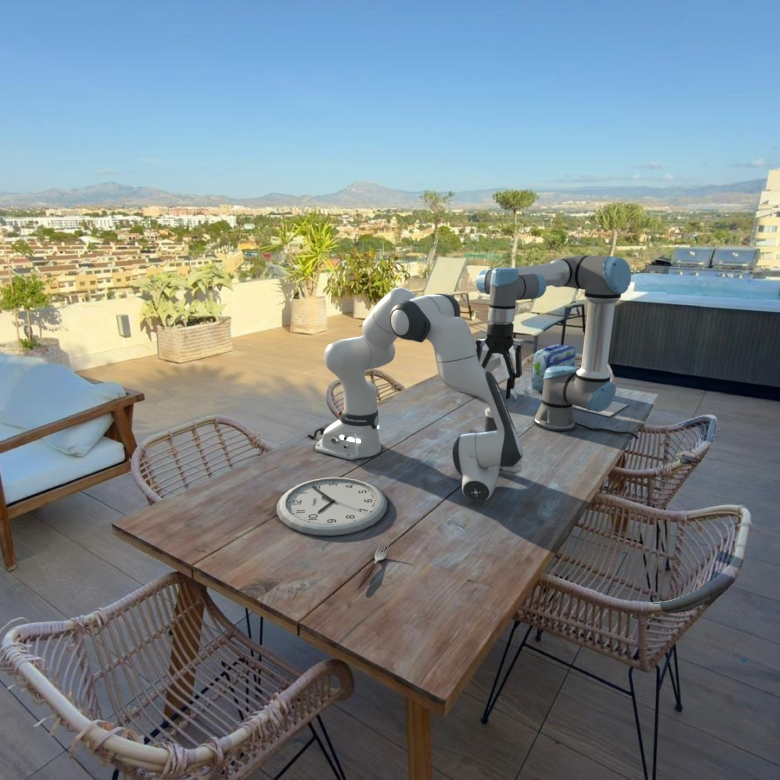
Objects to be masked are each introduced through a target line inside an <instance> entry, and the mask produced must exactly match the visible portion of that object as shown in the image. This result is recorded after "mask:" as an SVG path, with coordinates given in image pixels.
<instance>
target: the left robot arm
mask: <svg viewBox="0 0 780 780" xmlns="http://www.w3.org/2000/svg"><path fill="white" fill-rule="evenodd" d="M461 314H462V313H461V306H460V303H459V302H458V300H457V298H455V297H454V296H453V295H450V294H447V293H435V294H428V295H427V294H426V295H422V296H418V297H416V296H415V294H414V293H413V292H412V291H410V290H409V289H407V288H405V287H395V288H393V289H392V290H390V291H389V292H387V294H385V295H384V296H383V297H382V298H381V299H380V300H379V301H378V302H377V304H376V305H375V306H374V307H373V309H372V310H371V311H370V313H369V314H368V315H367V316H366V317H365V319H364V320H363V323H362V325H361V326H362V327H361V329H362V330H361V331H362V335H360V336H356V337H350V338H349V337H348V338H342V339H338V340H337V341H333V342H332V343H329V344H328V345H327V346H326V347H325V349H324V353H323V361H324V364H325V366H326V368H327V369H328V370H329V371H330V373H331V374H334V376H336V378H338V380H339V382H340V385H341V387H342V394H343V406H342V407H341V408H340V410H339V411H338V412H337V415H336V417H337V418H338V419H337V420H335V421H334V422H332V423H331V424H328V423H327V424H325V425H323V426H321V427H319V428H317V429H315V430H314V433H313V435H311V434H308V435H307V437H308V438H310V439H315V438H316V437H317V435H318V432H320V433H319V434H320V435H321V436H322V438H321V439H319V440H318V441H317V443H316V444H315V448H314V449H315V451H316V452H318V453H324V454H327V455H331V456H334V457H338V458H342V459H346V460H349V461H353V460H357V459H360V458H368V457H369V458H370V457H372V456H375V455H377V454H379V453H380V452H381V451H382V445H381V443H380V438H379V430H378V429H380V425H379V417H380V416H379V409H378V389H377V386H375V384H374V383H373V382H371V381H369V380H367V379H366V374H365V373H366V371H369V370H373V369H378V368H381V367H384V366H386V365H388V364H390V363H391V362H393V360H394V358H395V355H396V345H395V341H396V340H397V339H398V338H399V339H400V340H401V339H402V340H406V341H412V342H416V343H419V344H420V343H423V342H424V341H425V340H427V341H428V342H429V343H430V344H431V346H433V351H434V357H435V362H436V363H435V364H436V367H437V373H438V375H439V378H440V381H442V383H443V384H444V385H445V386H446V387H448V388H450V389H452V390H453V391H456V392H460V393H464V394H469V395H471V396H477V397H479V398H480V399H482V400H484V401H485V403H486V404H487V405H488V407H489V408H490V410H491V413H492V416H493V418H494V421H495V424H496V426H497V430H496V431H489V432H485V431H480V432H471V433H470V432H469V433H462V434H459V436H458V437H457V438H456V440H455V441H454V443H453V447H452V461H453V465H454V472H455V474H457V475H460V476H461V479H462V481H461V490H462V495H464V497H465V498H466V499H467V500H469V501H471V502H474V503H483V502H485V501H487V500H488V499H489V498H491V496H492V495H493V493H494V491H495V488H496V485H497V480H498V478H499V474H500V473H502V474H509V475H516V474H518V473H521V472H522V469H523V468H522V464H523V456H524V454H523V453H524V448H523V442H522V440H521V438H520V435H519V434H518V432H517V430H516V428H515V425H514V423H513V420H512V417H511V415H510V412H509V409H508V407H507V404H506V400H505V398H504V396H503V392H502V390H501V388H500V386H499V383H498V381H497V379H496V377H495V376H494V374H493V373H492V372H487V371H486V370H485V369H484V368H483V367H482V366H481V364H480V362H479V360H478V357H477V352H476V347H475V346H476V342H475V340H474V337H473V334H472V331H471V328H470V326H469V323H468V322H467V320H466V319H464V318H462V317H461Z"/></svg>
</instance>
